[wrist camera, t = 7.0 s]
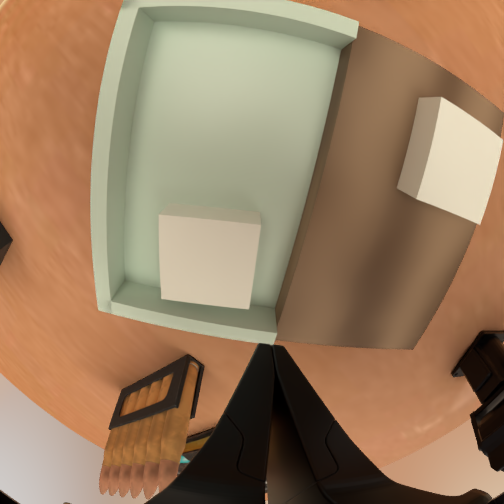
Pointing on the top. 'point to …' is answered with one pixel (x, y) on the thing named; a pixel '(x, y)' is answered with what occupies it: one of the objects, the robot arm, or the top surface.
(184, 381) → the ammunition clip
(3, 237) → the watch
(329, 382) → the top surface
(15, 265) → the top surface
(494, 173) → the tile
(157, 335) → the top surface
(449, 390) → the top surface
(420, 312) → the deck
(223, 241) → the tile
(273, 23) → the tray
